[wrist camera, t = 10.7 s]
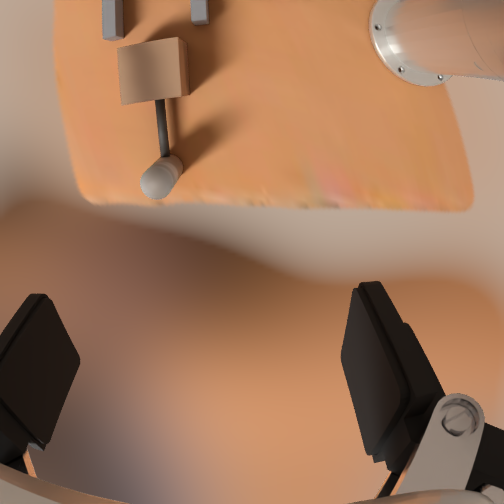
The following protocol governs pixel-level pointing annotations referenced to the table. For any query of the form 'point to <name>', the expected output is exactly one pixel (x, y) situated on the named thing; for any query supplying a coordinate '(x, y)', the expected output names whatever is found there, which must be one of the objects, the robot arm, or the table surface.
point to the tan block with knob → (156, 99)
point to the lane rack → (114, 17)
